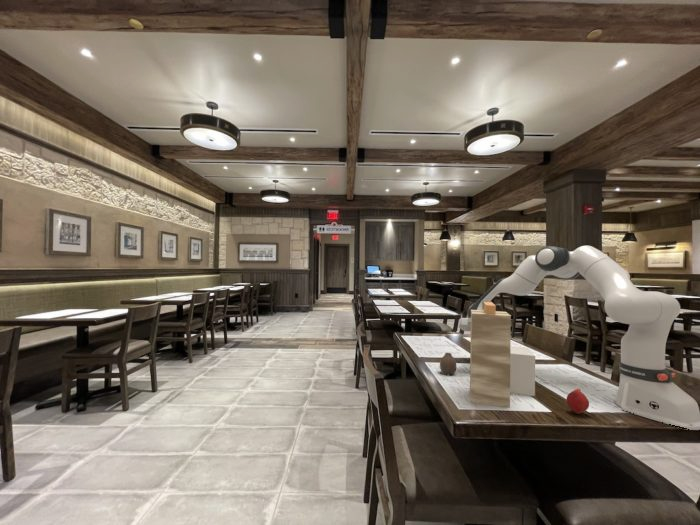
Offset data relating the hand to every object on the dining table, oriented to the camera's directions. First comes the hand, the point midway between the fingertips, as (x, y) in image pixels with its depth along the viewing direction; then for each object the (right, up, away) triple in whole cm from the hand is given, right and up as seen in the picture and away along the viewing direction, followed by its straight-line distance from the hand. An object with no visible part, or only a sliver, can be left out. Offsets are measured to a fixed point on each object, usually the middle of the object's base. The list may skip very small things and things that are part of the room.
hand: (485, 318), depth 135 cm
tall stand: (-8, -24, -21) cm, 33 cm away
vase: (-14, -25, +5) cm, 29 cm away
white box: (+7, -25, -11) cm, 28 cm away
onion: (+16, -25, -32) cm, 44 cm away
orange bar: (-6, +6, -16) cm, 18 cm away
